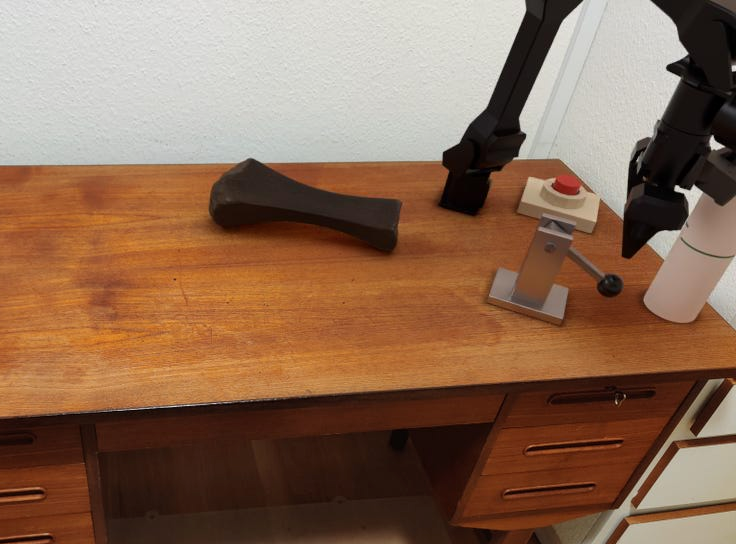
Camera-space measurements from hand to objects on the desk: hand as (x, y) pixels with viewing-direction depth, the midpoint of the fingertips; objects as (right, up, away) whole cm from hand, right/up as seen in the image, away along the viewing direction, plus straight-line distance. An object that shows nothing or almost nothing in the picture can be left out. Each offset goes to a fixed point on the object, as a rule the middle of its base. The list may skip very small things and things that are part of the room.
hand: (627, 240), depth 93 cm
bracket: (-10, -7, +8) cm, 14 cm away
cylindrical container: (+11, -8, +10) cm, 17 cm away
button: (+3, +12, +26) cm, 29 cm away
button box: (+3, +10, +28) cm, 30 cm away
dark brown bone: (-41, +4, +16) cm, 44 cm away
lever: (-6, -3, +3) cm, 7 cm away
